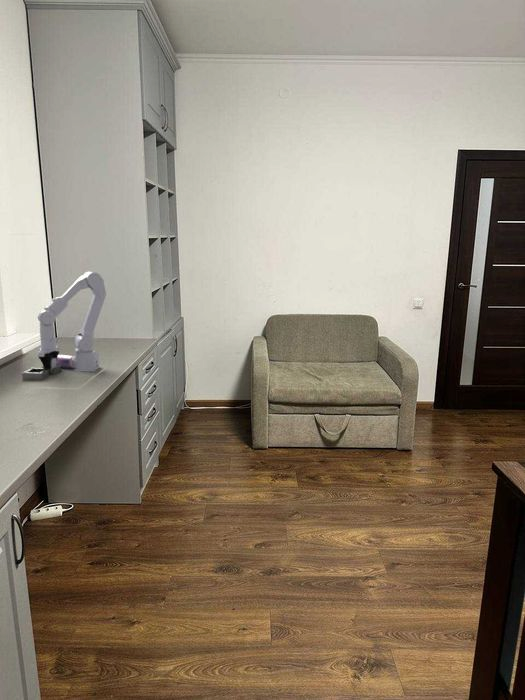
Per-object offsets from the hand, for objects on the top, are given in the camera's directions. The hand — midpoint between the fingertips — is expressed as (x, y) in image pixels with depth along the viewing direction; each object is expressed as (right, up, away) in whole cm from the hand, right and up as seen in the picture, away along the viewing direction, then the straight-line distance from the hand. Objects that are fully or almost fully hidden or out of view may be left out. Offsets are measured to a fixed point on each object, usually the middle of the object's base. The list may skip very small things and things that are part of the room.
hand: (50, 369), depth 209 cm
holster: (0, -2, 0) cm, 2 cm away
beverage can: (-7, +4, +11) cm, 14 cm away
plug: (0, -1, 0) cm, 1 cm away
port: (-2, -4, -7) cm, 8 cm away
